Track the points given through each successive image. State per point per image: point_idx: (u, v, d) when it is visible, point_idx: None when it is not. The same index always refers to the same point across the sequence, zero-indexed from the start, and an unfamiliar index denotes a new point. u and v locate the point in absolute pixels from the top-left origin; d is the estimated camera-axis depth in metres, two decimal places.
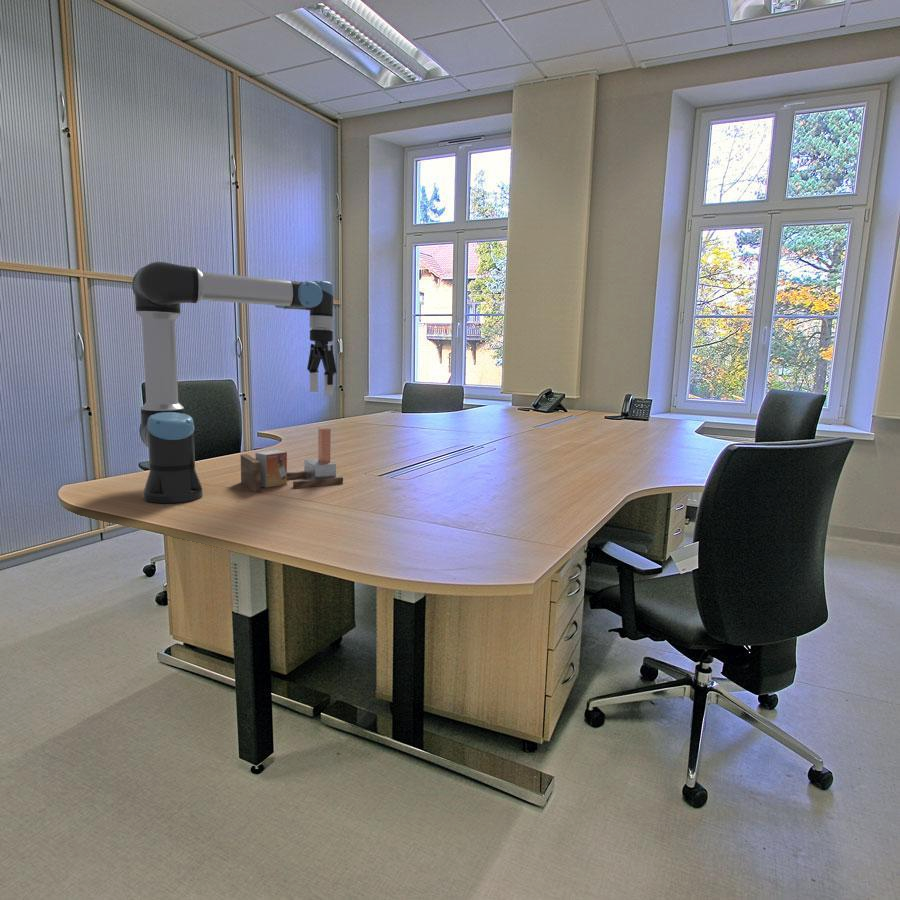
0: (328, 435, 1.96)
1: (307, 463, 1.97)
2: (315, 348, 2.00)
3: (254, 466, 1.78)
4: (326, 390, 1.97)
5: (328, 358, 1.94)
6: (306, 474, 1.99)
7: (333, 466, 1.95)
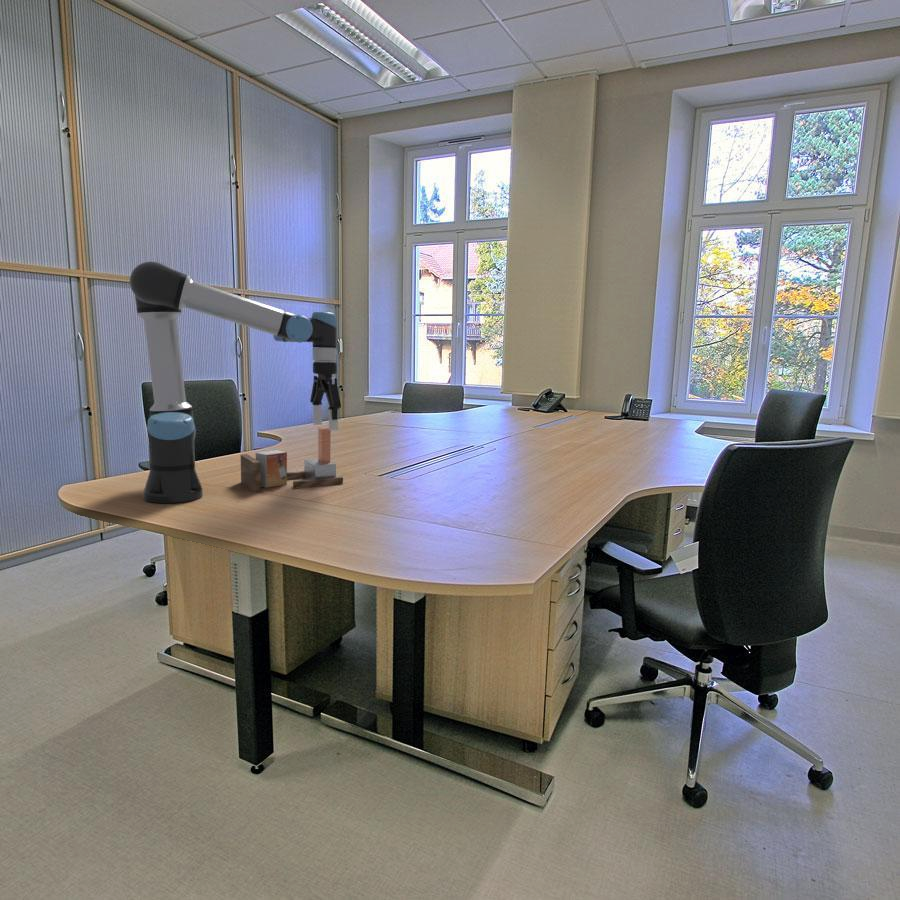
0: (328, 435, 1.96)
1: (307, 463, 1.97)
2: (318, 381, 1.93)
3: (254, 466, 1.78)
4: (330, 425, 1.89)
5: (332, 392, 1.87)
6: (306, 474, 1.99)
7: (333, 466, 1.95)
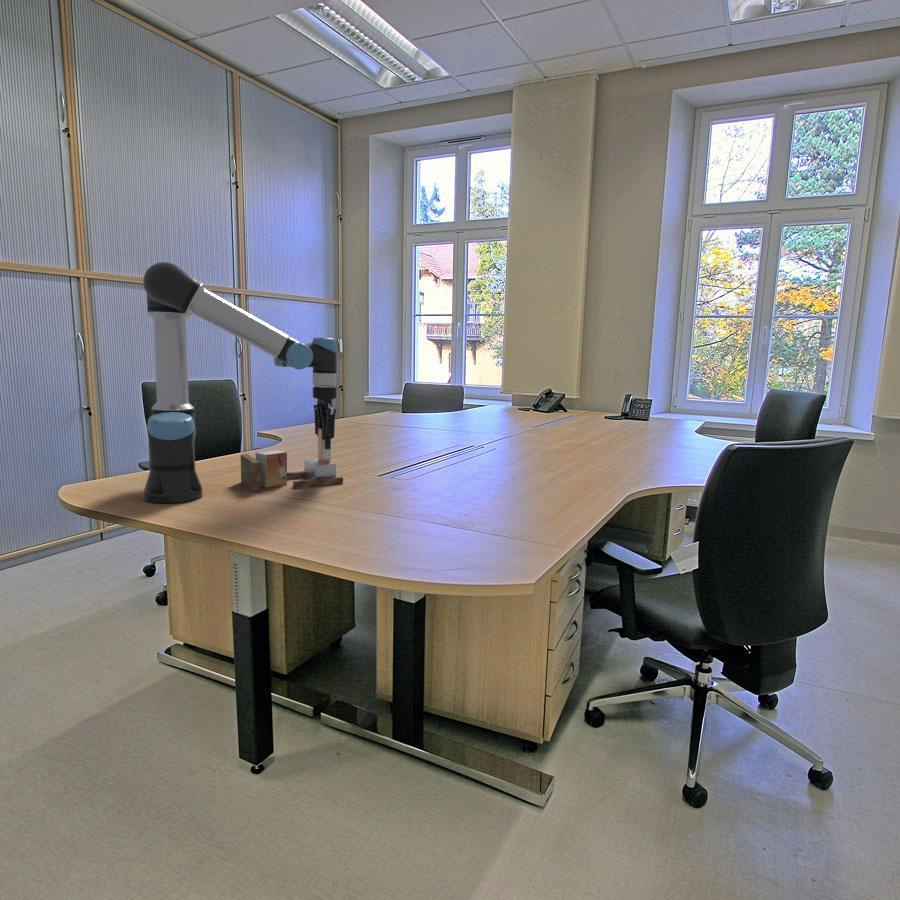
0: None
1: (307, 463, 1.97)
2: (318, 404, 1.94)
3: (254, 466, 1.78)
4: (324, 454, 1.95)
5: (328, 423, 1.91)
6: (306, 474, 1.99)
7: (333, 466, 1.95)
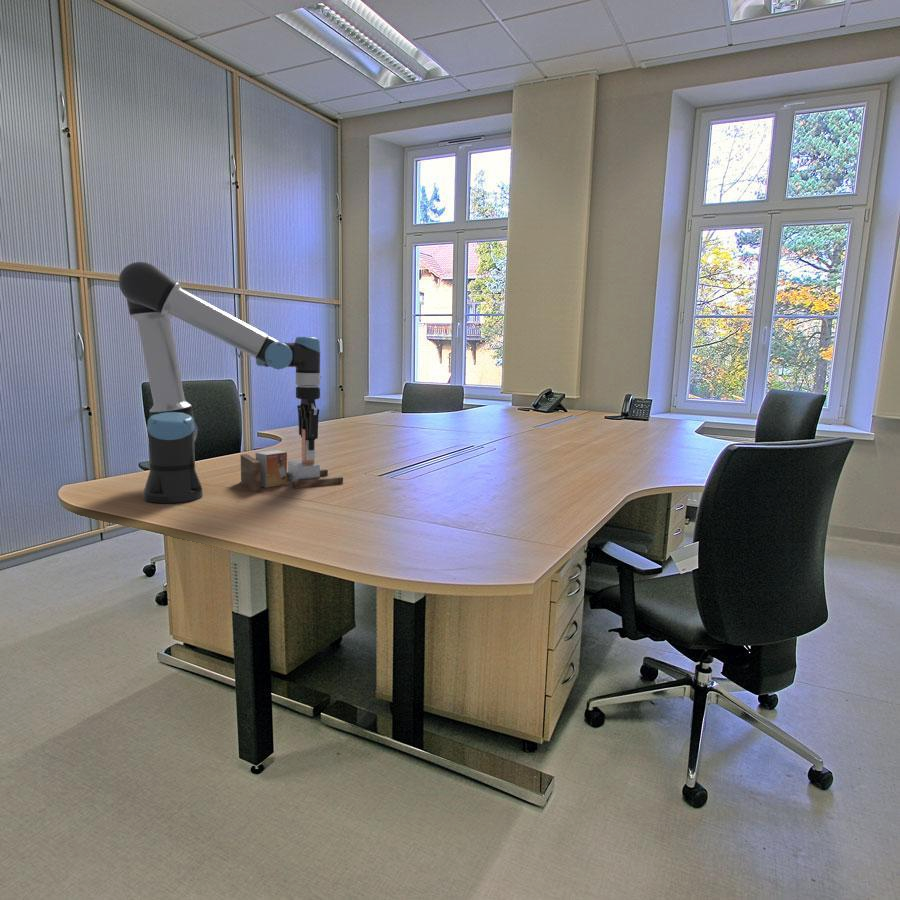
0: None
1: (290, 464, 1.94)
2: (301, 405, 1.91)
3: (254, 466, 1.78)
4: (307, 455, 1.92)
5: (312, 424, 1.88)
6: (289, 476, 1.96)
7: (317, 467, 1.92)
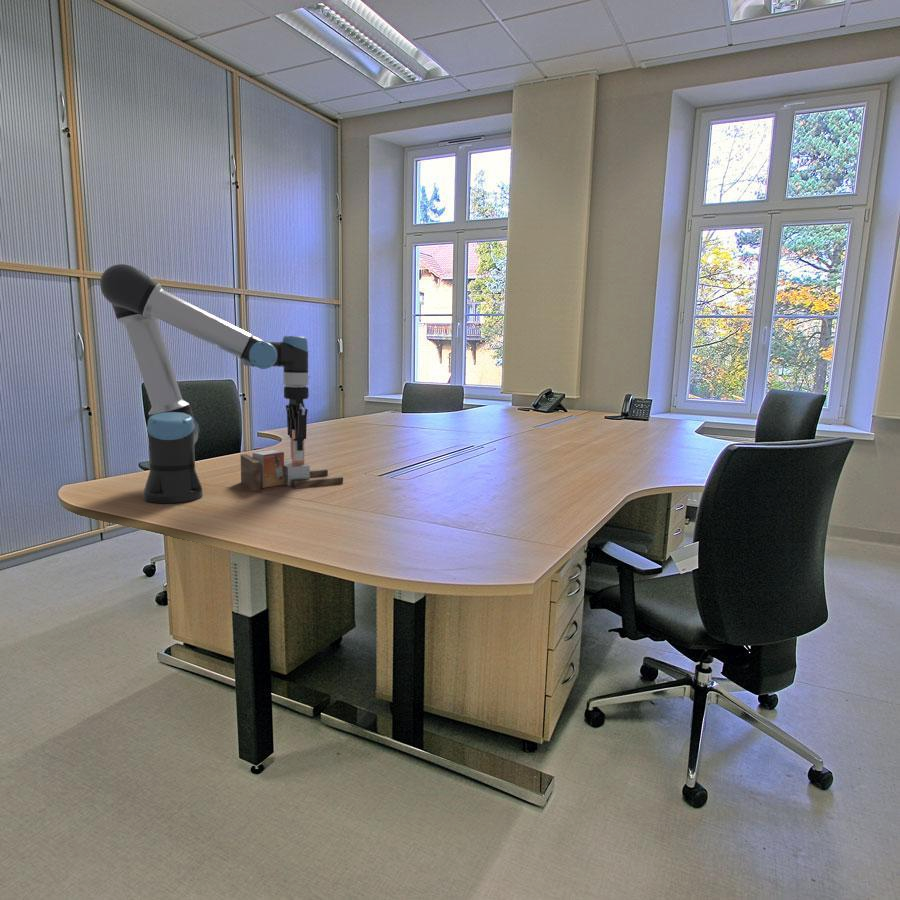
0: None
1: None
2: (290, 405, 1.89)
3: (254, 466, 1.78)
4: (296, 456, 1.90)
5: (300, 424, 1.86)
6: None
7: (307, 468, 1.90)
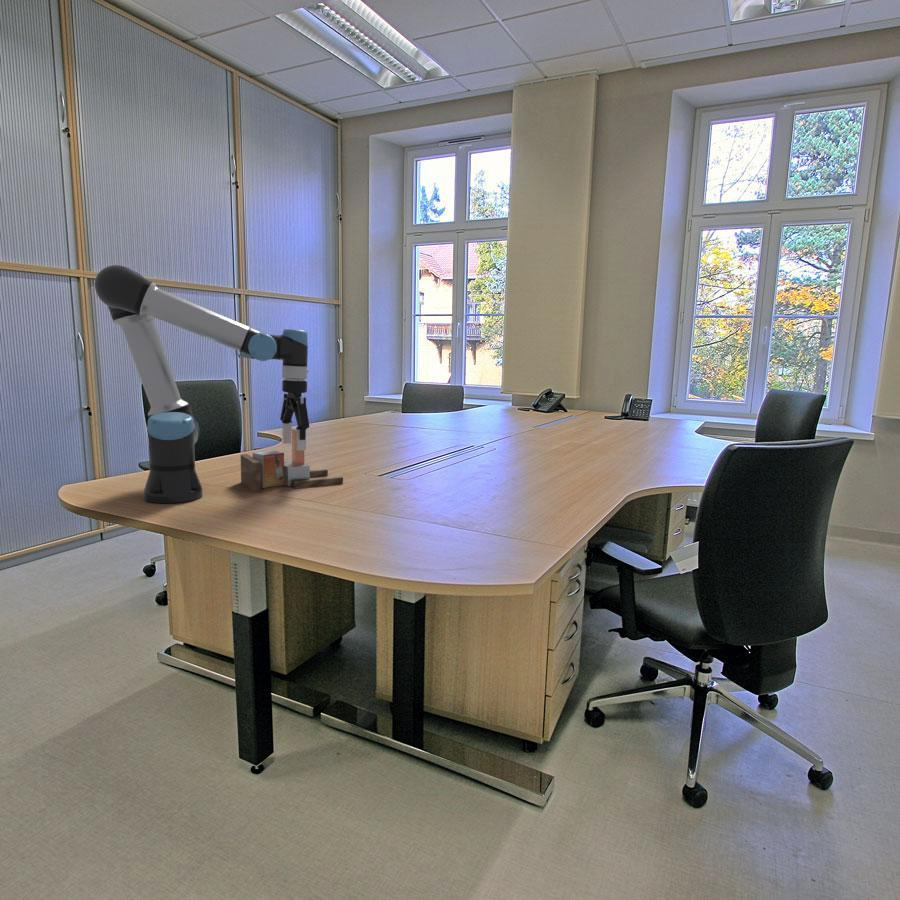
0: None
1: None
2: (288, 399, 1.89)
3: (254, 466, 1.78)
4: (298, 445, 1.85)
5: (301, 412, 1.82)
6: None
7: (307, 468, 1.90)
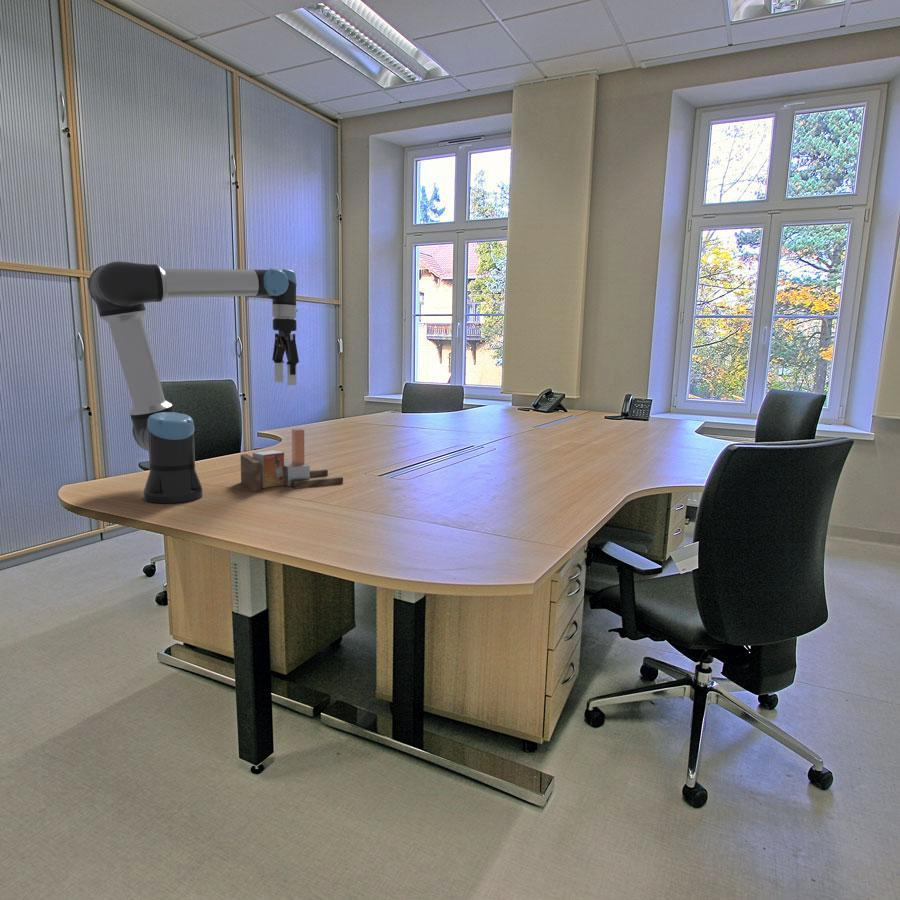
0: (302, 436, 1.91)
1: None
2: (278, 338, 1.97)
3: (254, 466, 1.78)
4: (289, 380, 1.94)
5: (290, 347, 1.91)
6: None
7: (307, 468, 1.90)
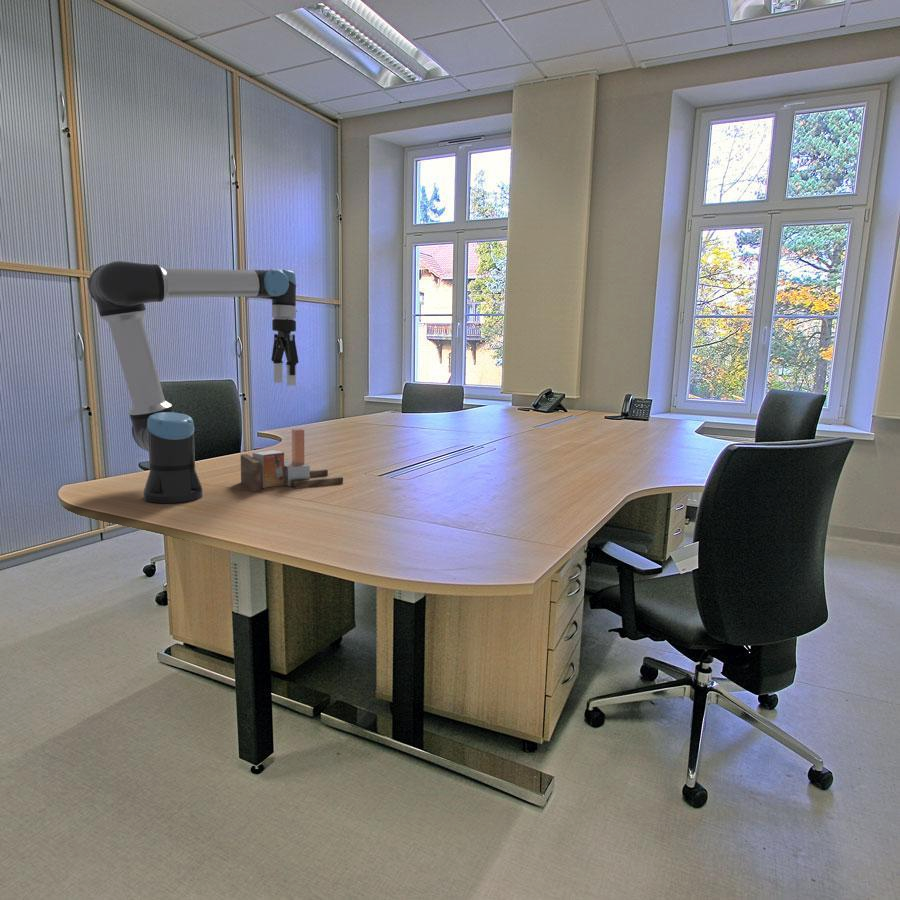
0: (302, 436, 1.91)
1: None
2: (278, 338, 1.98)
3: (254, 466, 1.78)
4: (288, 380, 1.94)
5: (290, 348, 1.92)
6: None
7: (307, 468, 1.90)
